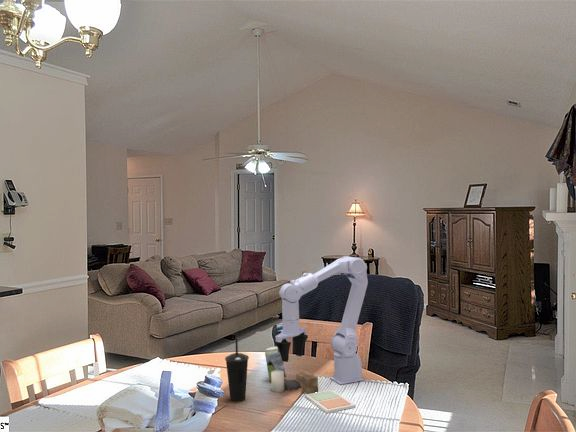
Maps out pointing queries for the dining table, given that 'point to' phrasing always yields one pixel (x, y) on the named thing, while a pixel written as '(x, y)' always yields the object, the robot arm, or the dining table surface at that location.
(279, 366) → the beverage can
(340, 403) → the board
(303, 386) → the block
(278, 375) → the ceramic cylinder
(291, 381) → the rubber puck
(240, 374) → the drinking cup
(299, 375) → the oak cube
